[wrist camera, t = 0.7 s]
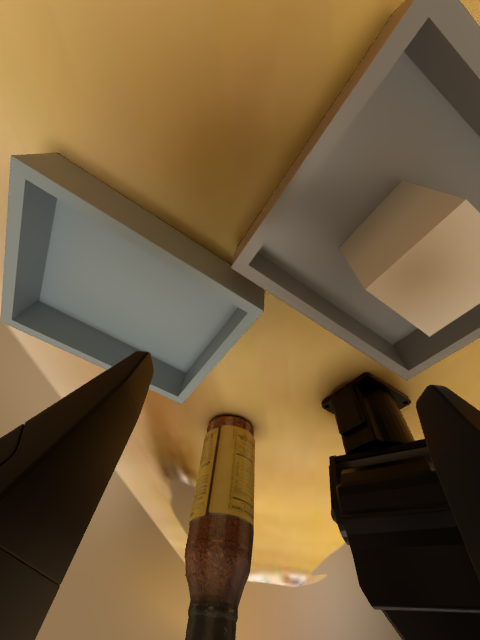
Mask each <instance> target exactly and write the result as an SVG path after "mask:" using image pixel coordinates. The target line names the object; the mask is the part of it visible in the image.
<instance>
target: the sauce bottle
mask: <svg viewBox="0 0 480 640" xmlns="http://www.w3.org/2000/svg"><path fill="white" fill-rule="evenodd" d="M253 436H254V433H253V428H252V426H251V425H250V424H249V423H248V422H247V421H245V420H243V419H241V418H239V417H233V416H221V417H218V418H215V419H214V420H212V421H211V422H210V424H209V425H208V428H207V434H206V436H205V440H204V445H203V450H202V456H201V461H200V467H199V473H198V478H197V484H196V489H195V495H194V500H193V506H192V511H191V516H190V521H189V525H190V527H189V535H188V539H187V544H186V549H185V562H186V578H187V582H188V586H189V591H190V598H191V601H190V606H189V610H188V616H189V619H188V624H187V630H186V638H185V640H235V634H236V633H235V632H236V622H237V619H238V605H239V602H240V598H241V595H242V592H243V589H244V586H245V584H246V581H247V579H248V576H249V573H250V567H251V557H252V547H253V535H254V461H255V440H254V437H253Z"/></svg>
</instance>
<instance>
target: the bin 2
mask: <svg viewBox="0 0 480 640" xmlns="http://www.w3.org/2000/svg"><path fill="white" fill-rule="evenodd" d="M401 181H406V182H409V183H412V184H416V185H419V186H423V187H426V188H429V189H433V190H436V191H440V192H443V193H446V194H450V195H453V196H457V197H460V198H463V199H466V200H467V201H468V202H469V203H470V204H471V205H472V206H473V207H474V208H475V209H476V210H477V211H478V212H479V213H480V27H479V25H478V24H477V23H476V21H475V20H474V19H473V17H472V16H471V15H470V13H469V12H468V11H467V9H466V8H465V7H464V6H463V4H462V3H461V2H460V0H405V1H404V2H403V3H402V4H401V5H400V6H399V7H398V8H397V10H396V11H395V12H394V13H393V14H392V16H391V17H390V19H389V20H388V22H387V23H386V25H385V26H384V28H383V29H382V31H381V32H380V34H379V35H378V37H377V38H376V40H375V41H374V43H373V44H372V46H371V47H370V49H369V50H368V52H367V53H366V55H365V56H364V58H363V59H362V61H361V62H360V64H359V65H358V67H357V68H356V70H355V71H354V73H353V74H352V76H351V77H350V79H349V80H348V82H347V83H346V85H345V86H344V88H343V89H342V91H341V92H340V94H339V95H338V97H337V98H336V100H335V101H334V103H333V104H332V106H331V107H330V109H329V110H328V112H327V113H326V115H325V116H324V118H323V119H322V121H321V122H320V124H319V125H318V127H317V128H316V130H315V131H314V133H313V134H312V136H311V137H310V139H309V140H308V142H307V143H306V145H305V146H304V148H303V149H302V151H301V152H300V154H299V155H298V157H297V158H296V160H295V161H294V163H293V164H292V166H291V167H290V169H289V170H288V172H287V173H286V175H285V176H284V178H283V179H282V181H281V182H280V184H279V185H278V187H277V188H276V190H275V192H274V193H273V195H272V196H271V198H270V199H269V201H268V202H267V204H266V205H265V207H264V208H263V210H262V211H261V213H260V214H259V216H258V217H257V219H256V220H255V222H254V223H253V225H252V226H251V228H250V229H249V231H248V232H247V234H246V235H245V237H244V238H243V240H242V241H241V243H240V244H239V246H238V247H237V249H236V252H235V255H234V259H233V262H232V265H231V268H232V269H233V270H235V271H236V272H238V273H240V274H241V275H243V276H244V277H246V278H247V279H249V280H250V281H252V282H254V283H255V284H257V285H258V286H260V287H261V288H263V289H264V290H266V291H268V292H269V293H271V294H272V295H274V296H275V297H277V298H278V299H280V300H282V301H283V302H285V303H286V304H288V305H289V306H291V307H292V308H294V309H296V310H297V311H299V312H300V313H302V314H303V315H305V316H306V317H308V318H310V319H311V320H313V321H314V322H316V323H317V324H319V325H320V326H322V327H324V328H325V329H327V330H328V331H330V332H331V333H333V334H334V335H336V336H338V337H339V338H341V339H342V340H344V341H345V342H347V343H348V344H350V345H352V346H353V347H355V348H356V349H358V350H359V351H361V352H362V353H364V354H366V355H367V356H369V357H370V358H372V359H373V360H375V361H376V362H378V363H380V364H381V365H383V366H384V367H386V368H387V369H389V370H390V371H392V372H394V373H395V374H397V375H398V376H400V377H401V378H403V379H404V380H406V381H407V380H408V379H410V378H412V377H414V376H415V375H417V374H419V373H420V372H422V371H424V370H425V369H427V368H429V367H430V366H432V365H434V364H436V363H437V362H439V361H441V360H442V359H444V358H446V357H447V356H449V355H451V354H452V353H454V352H456V351H458V350H459V349H461V348H463V347H464V346H466V345H468V344H469V343H471V342H473V341H474V340H476V339H478V338H480V304H478V305H477V306H475V307H474V308H472V309H471V310H469V311H467V312H466V313H464V314H463V315H461V316H460V317H458V318H457V319H455V320H454V321H452V322H451V323H449V324H448V325H446V326H445V327H443V328H442V329H440V330H439V331H437V332H436V333H434V334H433V335H431V336H430V337H429V336H428V335H427V334H425V333H424V332H422V331H421V330H420V329H418V328H417V327H416V326H414V325H413V324H412V323H410V322H409V321H408V320H406V319H405V318H403V317H402V316H401V315H399V314H398V313H397V312H395V311H394V310H393V309H391V308H390V307H388V306H387V305H386V304H384V303H383V302H382V301H380V300H379V299H378V298H376V297H375V296H373V295H372V294H371V293H369V292H368V291H367V290H365V288H364V287H363V285H362V284H361V282H360V281H359V279H358V278H357V276H356V274H355V273H354V271H353V270H352V268H351V267H350V265H349V264H348V262H347V261H346V259H345V257H344V256H343V254H342V253H341V251H340V250H339V247H340V246H341V245H342V244H343V243H344V242H345V241H346V240H347V239H348V238H349V237H350V236H351V235H352V233H353V232H354V231H355V230H356V229H357V228H358V227H359V226H360V225H361V224H362V223H363V222H364V221H365V219H366V218H367V217H368V216H369V215H370V214H371V213H372V212H373V211H374V210H375V209H376V208H377V207H378V206H379V204H380V203H381V202H382V201H383V200H384V199H385V198H386V197H387V196H388V195H389V194H390V193H391V192H392V191H393V189H394V188H395V187H396V186H397V185H398V184H399V183H400V182H401Z"/></svg>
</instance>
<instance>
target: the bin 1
mask: <svg viewBox="0 0 480 640" xmlns="http://www.w3.org/2000/svg"><path fill="white" fill-rule="evenodd" d="M263 311H264V289H263V288H261V287H260V286H258V285H257V284H255V283H254V282H252V281H250V280H249V279H247V278H246V277H244V276H243V275H241V274H240V273H238V272H236V271H235V270H233V269H232V268H231V265H230V264H228V263H227V262H225V261H224V260H222V259H221V258H219V257H218V256H216V255H214V254H213V253H211V252H210V251H208V250H207V249H205V248H204V247H202V246H201V245H199V244H197V243H196V242H194V241H193V240H191V239H190V238H188V237H187V236H185V235H184V234H182V233H180V232H179V231H177V230H176V229H174V228H173V227H171V226H170V225H168V224H167V223H165V222H163V221H162V220H160V219H159V218H157V217H156V216H154V215H153V214H151V213H149V212H148V211H146V210H145V209H143V208H142V207H140V206H139V205H137V204H136V203H134V202H132V201H131V200H129V199H128V198H126V197H125V196H123V195H122V194H120V193H119V192H117V191H115V190H114V189H112V188H111V187H109V186H108V185H106V184H105V183H103V182H102V181H100V180H98V179H97V178H95V177H94V176H92V175H91V174H89V173H88V172H86V171H85V170H83V169H81V168H80V167H78V166H77V165H75V164H74V163H72V162H71V161H69V160H68V159H66V158H64V157H63V156H61V155H60V154H58V153H46V154H27V155H11V163H10V179H9V195H8V211H7V227H6V243H5V259H4V275H3V291H2V307H1V322H3V323H5V324H7V325H9V326H12V327H14V328H16V329H18V330H20V331H23V332H25V333H27V334H29V335H31V336H34V337H36V338H38V339H40V340H42V341H44V342H47V343H49V344H51V345H53V346H55V347H58V348H60V349H62V350H64V351H66V352H69V353H71V354H73V355H75V356H77V357H80V358H82V359H84V360H86V361H88V362H91V363H93V364H95V365H97V366H99V367H101V368H104V369H106V370H108V369H109V368H111V367H112V366H114V365H115V364H117V363H119V362H120V361H122V360H123V359H125V358H126V357H128V356H129V355H131V354H133V353H134V352H136V351H147V352H150V354H151V357H152V363H153V368H154V374H153V377H152V380H151V383H150V386H149V389H150V390H152V391H154V392H156V393H158V394H161V395H163V396H165V397H167V398H169V399H172V400H174V401H176V402H178V403H180V404H182V403H183V402H184V401H185V400H186V399H187V398H188V397H189V395H190V394H191V393H192V392H193V391H194V390H195V389H196V387H197V386H198V385H199V384H200V383H201V382H202V381H203V379H204V378H205V377H206V376H207V375H208V374H209V373H210V372H211V370H212V369H213V368H214V367H215V366H216V365H217V364H218V362H219V361H220V360H221V359H222V358H223V357H224V356H225V355H226V353H227V352H228V351H229V350H230V349H231V348H232V347H233V345H234V344H235V343H236V342H237V341H238V340H239V339H240V338H241V336H242V335H243V334H244V333H245V332H246V331H247V330H248V328H249V327H250V326H251V325H252V324H253V323H254V322H255V320H256V319H257V318H258V317H259V316H260V315H261V314H262V313H263Z"/></svg>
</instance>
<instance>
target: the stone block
mask: <svg viewBox="0 0 480 640" xmlns="http://www.w3.org/2000/svg"><path fill="white" fill-rule="evenodd" d="M339 250H340V251H341V253H342V254H343V256H344V257H345V259H346V261H347V262H348V264H349V265H350V267H351V268H352V270H353V271H354V273H355V274H356V276H357V278H358V279H359V281H360V282H361V284H362V285H363V287H364V288H365V290H367V291H368V292H369V293H371V294H372V295H373V296H375V297H376V298H378V299H379V300H380V301H382V302H383V303H384V304H386V305H387V306H388V307H390V308H391V309H393V310H394V311H395V312H397V313H398V314H399V315H401V316H402V317H403V318H405V319H406V320H408V321H409V322H410V323H412V324H413V325H414V326H416V327H417V328H418V329H420V330H421V331H422V332H424V333H425V334H427V335H428V336H429V337H430V336H431V335H433V334H434V333H436V332H437V331H439V330H440V329H442V328H443V327H445V326H446V325H448V324H449V323H451V322H452V321H454V320H455V319H457V318H458V317H460V316H461V315H463V314H464V313H466V312H467V311H469V310H471V309H472V308H474V307H475V306H477V305H478V304H480V213H479V212H478V211H477V210H476V209H475V208H474V207H473V206H472V205H471V204H470V203H469V202H468V201H467V200H466V199H463V198H460V197H457V196H453V195H450V194H446V193H443V192H440V191H436V190H433V189H429V188H426V187H423V186H419V185H416V184H412V183H409V182H406V181H401V182H400V183H399V184H398V185H397V186H396V187H395V188H394V189H393V191H392V192H391V193H390V194H389V195H388V196H387V197H386V198H385V199H384V200H383V201H382V202H381V203H380V204H379V206H378V207H377V208H376V209H375V210H374V211H373V212H372V213H371V214H370V215H369V216H368V217H367V218H366V219H365V221H364V222H363V223H362V224H361V225H360V226H359V227H358V228H357V229H356V230H355V231H354V232H353V233H352V235H351V236H350V237H349V238H348V239H347V240H346V241H345V242H344V243H343V244H342V245H341V246H340V247H339Z"/></svg>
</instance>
